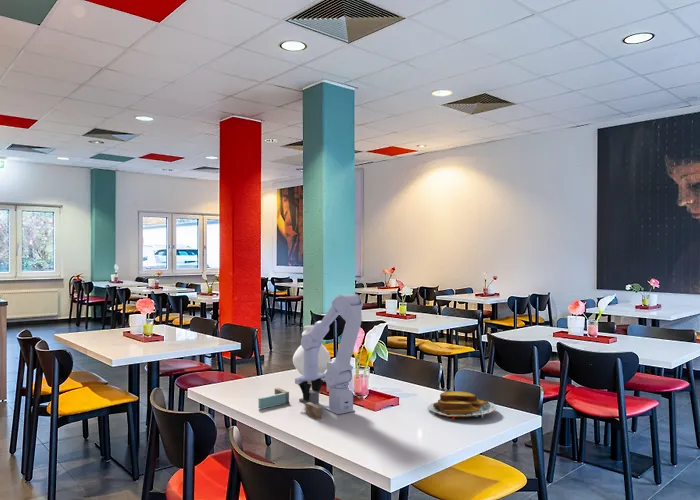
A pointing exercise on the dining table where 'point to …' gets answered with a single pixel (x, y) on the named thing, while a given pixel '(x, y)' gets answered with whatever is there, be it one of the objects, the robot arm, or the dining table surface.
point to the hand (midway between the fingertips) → (310, 399)
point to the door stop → (311, 397)
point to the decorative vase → (322, 356)
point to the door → (273, 400)
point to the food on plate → (461, 405)
